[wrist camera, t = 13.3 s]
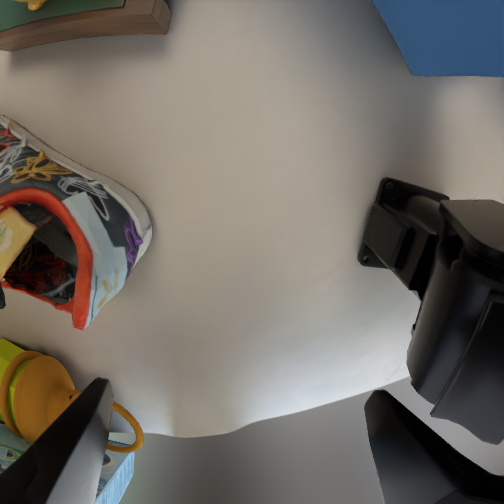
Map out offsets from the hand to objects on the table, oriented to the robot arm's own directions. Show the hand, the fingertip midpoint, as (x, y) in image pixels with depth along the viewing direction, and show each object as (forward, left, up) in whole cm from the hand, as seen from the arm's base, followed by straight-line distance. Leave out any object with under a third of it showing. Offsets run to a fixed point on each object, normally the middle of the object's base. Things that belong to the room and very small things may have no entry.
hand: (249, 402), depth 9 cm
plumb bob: (+18, +15, -12) cm, 27 cm away
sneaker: (+16, -3, -12) cm, 20 cm away
